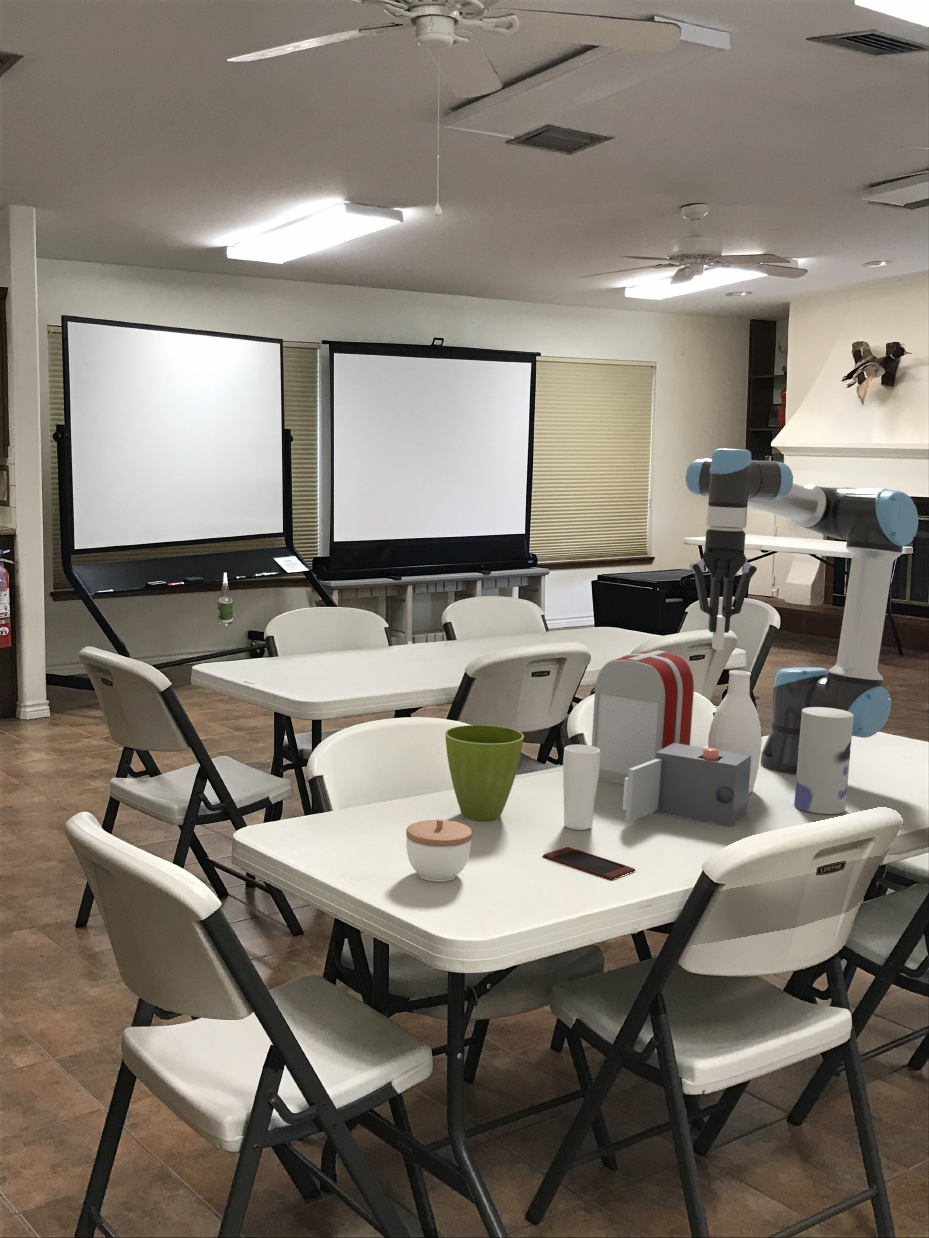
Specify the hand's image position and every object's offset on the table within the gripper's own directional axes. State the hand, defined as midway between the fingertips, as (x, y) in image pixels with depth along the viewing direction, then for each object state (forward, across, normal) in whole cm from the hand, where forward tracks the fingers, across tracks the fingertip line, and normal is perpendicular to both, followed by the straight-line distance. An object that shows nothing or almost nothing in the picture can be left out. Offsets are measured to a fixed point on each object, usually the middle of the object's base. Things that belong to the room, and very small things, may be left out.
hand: (717, 648), depth 234 cm
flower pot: (+33, +46, +8) cm, 57 cm away
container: (+33, -24, -2) cm, 41 cm away
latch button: (+21, +2, +6) cm, 22 cm away
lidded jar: (+33, +56, +41) cm, 77 cm away
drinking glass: (+33, +28, +14) cm, 45 cm away
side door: (+31, +15, +8) cm, 36 cm away
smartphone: (+33, +30, +34) cm, 56 cm away
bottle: (+33, -9, -14) cm, 37 cm away
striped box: (+33, +9, -24) cm, 41 cm away
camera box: (+32, +2, +3) cm, 33 cm away
